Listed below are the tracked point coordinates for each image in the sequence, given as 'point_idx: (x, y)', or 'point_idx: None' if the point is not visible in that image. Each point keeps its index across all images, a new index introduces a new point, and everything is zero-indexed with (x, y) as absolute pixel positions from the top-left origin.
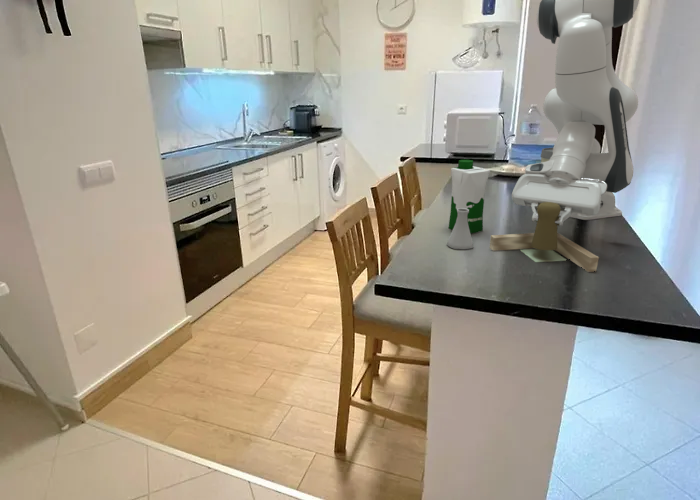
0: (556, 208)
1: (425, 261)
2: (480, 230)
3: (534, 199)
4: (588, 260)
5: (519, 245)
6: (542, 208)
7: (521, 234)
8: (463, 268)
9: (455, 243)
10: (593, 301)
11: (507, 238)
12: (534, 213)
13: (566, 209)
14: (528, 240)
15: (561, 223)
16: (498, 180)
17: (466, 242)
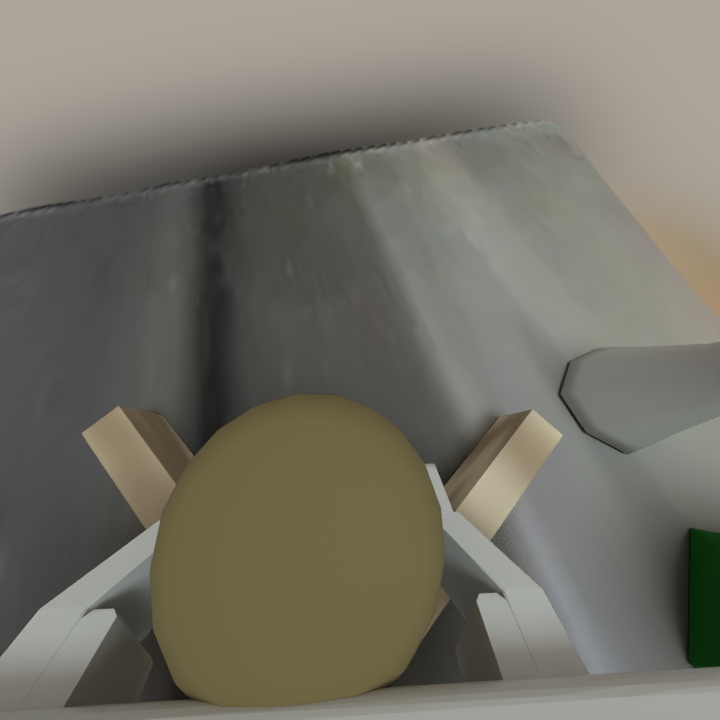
0: (196, 458)
1: (579, 235)
2: (696, 646)
3: (604, 700)
4: (137, 416)
5: None
6: (357, 405)
7: None
8: (482, 245)
9: (614, 349)
10: (155, 235)
11: (492, 457)
12: (439, 501)
13: (78, 631)
14: None
15: None
16: None
17: (593, 369)
